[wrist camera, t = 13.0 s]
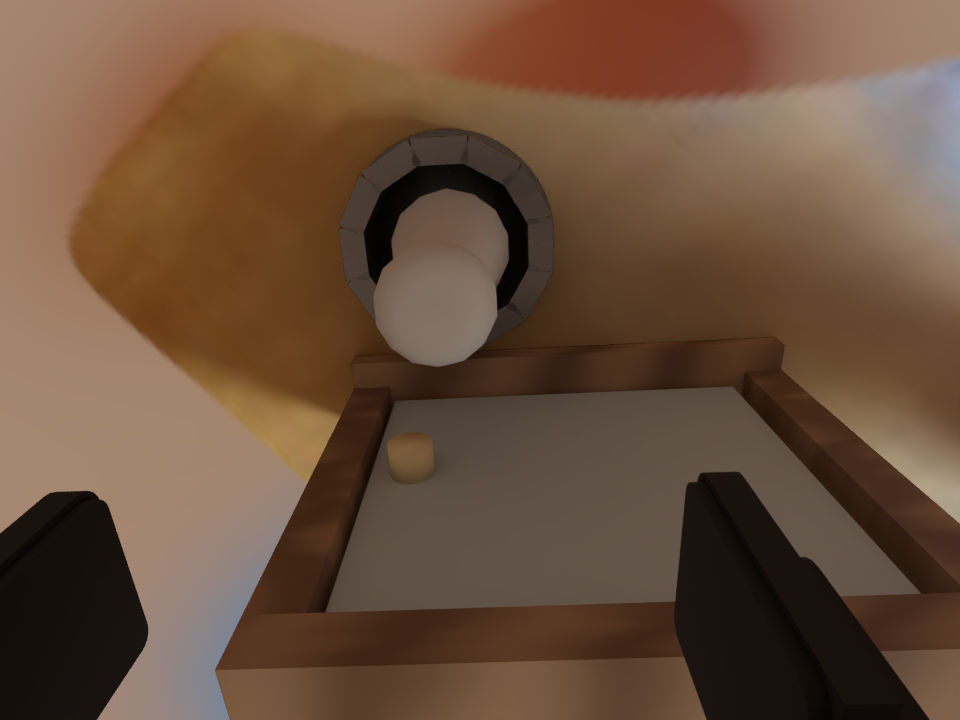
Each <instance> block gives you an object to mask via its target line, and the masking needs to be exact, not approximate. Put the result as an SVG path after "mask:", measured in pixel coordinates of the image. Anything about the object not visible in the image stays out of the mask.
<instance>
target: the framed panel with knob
mask: <svg viewBox="0 0 960 720" xmlns="http://www.w3.org/2000/svg"><path fill="white" fill-rule="evenodd" d="M784 346H785V345H784V344H783V343H782V342H780V341H779V340H778V339H776V338H775V337H772V338H750V339H728V340H705V341H683V342H661V343H639V344H617V345H595V346H573V347H551V348H529V349H507V350H485V351H475V352H474V353H473V354H471V355H470V356H469V357H468V358H467V359H466V360H464V361H461V362H457V363H453V364H449V365H445V366H441V367H436V366H430V365H423V364H417V363H412V362H411V361H409V360H408V359H406V358H405V357H403V356H402V355H400V354H397V355H375V356H355V358H354V360H353V362H352V363H351V367H352V374H353V381H354V388H355V389H354V391H353V393H352V395H351V397H350V399H349V401H348V403H347V405H346V407H345V409H344V411H343V413H342V415H341V417H340V419H339V421H338V423H337V425H336V427H335V429H334V431H333V433H332V435H331V437H330V439H329V441H328V443H327V445H326V447H325V449H324V451H323V453H322V455H321V457H320V459H319V461H318V463H317V465H316V467H315V469H314V471H313V473H312V475H311V477H310V479H309V482H308V484H307V486H306V488H305V490H304V492H303V494H302V496H301V498H300V500H299V502H298V504H297V506H296V508H295V510H294V512H293V514H292V516H291V518H290V520H289V522H288V524H287V526H286V528H285V530H284V532H283V534H282V536H281V538H280V540H279V542H278V544H277V546H276V548H275V550H274V552H273V554H272V556H271V558H270V560H269V562H268V564H267V567H266V568H265V571H264V572H263V574H262V576H261V578H260V580H259V582H258V585H257V586H256V588H255V591H254V593H253V595H252V597H251V599H250V601H249V603H248V605H247V607H246V609H245V611H244V613H243V615H242V617H241V619H240V621H239V623H238V625H237V627H236V629H235V631H234V633H233V635H232V637H231V639H230V641H229V643H228V645H227V647H226V649H225V651H224V653H223V655H222V657H221V659H220V661H219V663H218V665H217V667H216V669H215V672H216V675H217V679H218V682H219V685H220V689H221V692H222V695H223V699H224V702H225V705H226V709H227V712H228V715H229V719H230V720H706V717H705V714H704V711H703V709H702V706H701V703H700V700H699V697H698V694H697V692H696V689H695V686H694V683H693V680H692V678H691V675H690V672H689V669H688V666H687V664H686V661H685V658H684V655H683V652H682V650H681V647H680V644H679V641H678V638H677V634H676V630H675V623H674V609H675V602H644V603H613V604H581V605H549V606H517V607H486V608H454V609H422V610H390V611H359V612H327V613H325V612H326V609H327V606H328V603H329V600H330V597H331V594H332V591H333V588H334V585H335V582H336V579H337V576H338V573H339V570H340V567H341V564H342V561H343V558H344V555H345V552H346V549H347V546H348V543H349V540H350V537H351V533H352V530H353V527H354V524H355V521H356V518H357V515H358V512H359V509H360V506H361V503H362V500H363V497H364V494H365V491H366V488H367V485H368V482H369V479H370V476H371V473H372V470H373V467H374V464H375V461H376V458H377V455H378V452H379V449H380V446H381V443H382V440H383V436H384V433H385V430H386V427H387V424H388V421H389V418H390V415H391V412H392V409H393V406H394V403H395V401H406V400H429V399H452V398H476V397H499V396H522V395H545V394H569V393H592V392H615V391H639V390H662V389H685V388H709V387H732V386H733V387H734V389H735V390H736V391H737V392H738V393H739V394H740V395H741V396H742V397H743V398H744V400H745V401H746V402H747V403H748V404H749V405H750V406H751V407H752V408H753V409H754V411H755V412H756V413H757V414H758V415H759V416H760V417H761V418H762V419H763V420H764V422H765V423H766V424H767V425H768V426H769V427H770V428H771V429H772V430H773V431H774V432H775V434H776V435H777V436H778V437H779V438H780V439H781V440H782V441H783V442H784V443H785V445H786V446H787V447H788V448H789V449H790V450H791V451H792V452H793V453H794V454H795V456H796V457H797V458H798V459H799V460H800V461H801V462H802V463H803V464H804V465H805V467H806V468H807V469H808V470H809V471H810V472H811V473H812V474H813V475H814V476H815V478H816V479H817V480H818V481H819V482H820V483H821V484H822V485H823V486H824V487H825V489H826V490H827V491H828V492H829V493H830V494H831V495H832V496H833V497H834V498H835V500H836V501H837V502H838V503H839V504H840V505H841V506H842V507H843V508H844V509H845V511H846V512H847V513H848V514H849V515H850V516H851V517H852V518H853V519H854V520H855V522H856V523H857V524H858V525H859V526H860V527H861V528H862V529H863V530H864V531H865V532H866V534H867V535H868V536H869V537H870V538H871V539H872V540H873V541H874V542H875V543H876V545H877V546H878V547H879V548H880V549H881V550H882V551H883V552H884V553H885V554H886V556H887V557H888V558H889V559H890V560H891V561H892V562H893V563H894V564H895V565H896V567H897V568H898V569H899V570H900V571H901V572H902V573H903V574H904V575H905V576H906V578H907V579H908V580H909V581H910V582H911V583H912V584H913V585H914V586H915V587H916V589H917V590H918V591H919V592H920V593H921V594H898V595H866V596H840V597H841V598H842V600H843V601H844V602H845V604H846V605H847V607H848V608H849V609H850V611H851V612H852V613H853V615H854V616H855V618H856V619H857V620H858V622H859V623H860V624H861V626H862V627H863V629H864V630H865V631H866V633H867V634H868V635H869V637H870V638H871V640H872V641H873V642H874V644H875V645H876V646H877V648H878V649H879V651H880V652H881V653H882V655H883V656H884V657H885V659H886V660H887V662H888V663H889V664H890V666H891V667H892V668H893V670H894V671H895V673H896V674H897V675H898V677H899V678H900V679H901V681H902V682H903V684H904V685H905V686H906V688H907V689H908V690H909V692H910V693H911V694H912V696H913V697H914V699H915V700H916V701H917V703H918V704H919V705H920V707H921V708H922V710H923V711H924V712H925V714H926V715H927V716H928V718H929V719H930V720H960V524H959V523H958V522H957V521H956V520H955V519H954V518H952V517H951V516H950V515H949V514H948V513H947V512H945V511H944V510H943V509H942V508H941V507H940V506H938V505H937V504H936V503H935V502H934V501H933V500H931V499H930V498H929V497H928V496H927V495H926V494H925V493H923V492H922V491H921V490H920V489H919V488H918V487H916V486H915V485H914V484H913V483H912V482H911V481H909V480H908V479H907V478H906V477H905V476H904V475H902V474H901V473H900V472H899V471H898V470H897V469H895V468H894V467H893V466H892V465H891V464H890V463H889V462H887V461H886V460H885V459H884V458H883V457H882V456H880V455H879V454H878V453H877V452H876V451H875V450H873V449H872V448H871V447H870V446H869V445H868V444H866V443H865V442H864V441H863V440H862V439H861V438H859V437H858V436H857V435H856V434H855V433H854V432H852V431H851V430H850V429H849V428H848V427H847V426H846V425H844V424H843V423H842V422H841V421H840V420H839V419H837V418H836V417H835V416H834V415H833V414H832V413H830V412H829V411H828V410H827V409H826V408H825V407H823V406H822V405H821V404H820V403H819V402H818V401H816V400H815V399H814V398H813V397H812V396H811V395H810V394H808V393H807V392H806V391H805V390H804V389H803V388H801V387H800V386H799V385H798V384H797V383H796V382H794V381H793V380H792V379H791V378H790V377H789V376H787V375H786V374H785V373H784V372H783V371H782V370H781V366H782V359H783V352H784Z"/></svg>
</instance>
